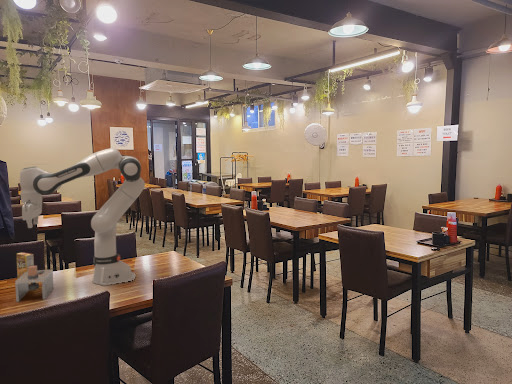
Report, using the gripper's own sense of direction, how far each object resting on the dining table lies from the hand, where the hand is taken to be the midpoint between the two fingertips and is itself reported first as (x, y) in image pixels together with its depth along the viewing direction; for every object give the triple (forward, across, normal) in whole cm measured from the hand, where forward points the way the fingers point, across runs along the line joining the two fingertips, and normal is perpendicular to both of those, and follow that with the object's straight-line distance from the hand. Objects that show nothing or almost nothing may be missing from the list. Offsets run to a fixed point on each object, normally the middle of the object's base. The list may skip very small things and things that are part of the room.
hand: (33, 226), depth 179 cm
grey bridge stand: (+33, -9, -2) cm, 34 cm away
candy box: (+33, +14, +9) cm, 37 cm away
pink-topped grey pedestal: (+29, -11, -2) cm, 31 cm away
